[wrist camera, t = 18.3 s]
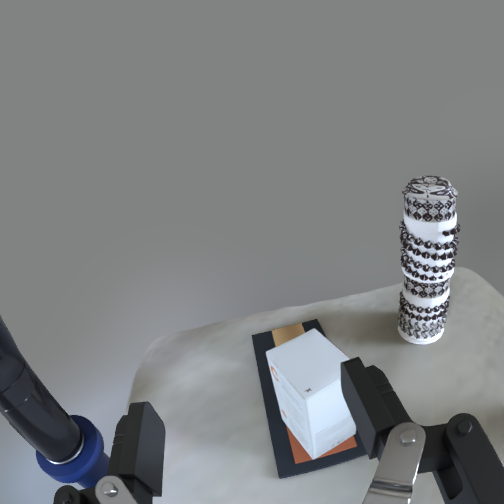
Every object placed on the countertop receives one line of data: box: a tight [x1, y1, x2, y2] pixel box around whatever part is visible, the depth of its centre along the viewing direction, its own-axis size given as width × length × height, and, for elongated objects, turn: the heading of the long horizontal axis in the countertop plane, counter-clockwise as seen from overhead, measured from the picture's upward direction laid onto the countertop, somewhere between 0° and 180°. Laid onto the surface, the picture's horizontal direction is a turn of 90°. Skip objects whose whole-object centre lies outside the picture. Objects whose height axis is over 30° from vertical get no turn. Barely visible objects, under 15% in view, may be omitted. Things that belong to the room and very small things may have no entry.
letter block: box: [272, 323, 305, 347], centre depth 48 cm, size 5×5×3 cm
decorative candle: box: [398, 176, 460, 345], centre depth 40 cm, size 9×9×25 cm
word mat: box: [252, 319, 367, 479], centre depth 41 cm, size 12×28×1 cm, turn 7°
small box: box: [266, 328, 356, 459], centre depth 31 cm, size 8×6×13 cm
